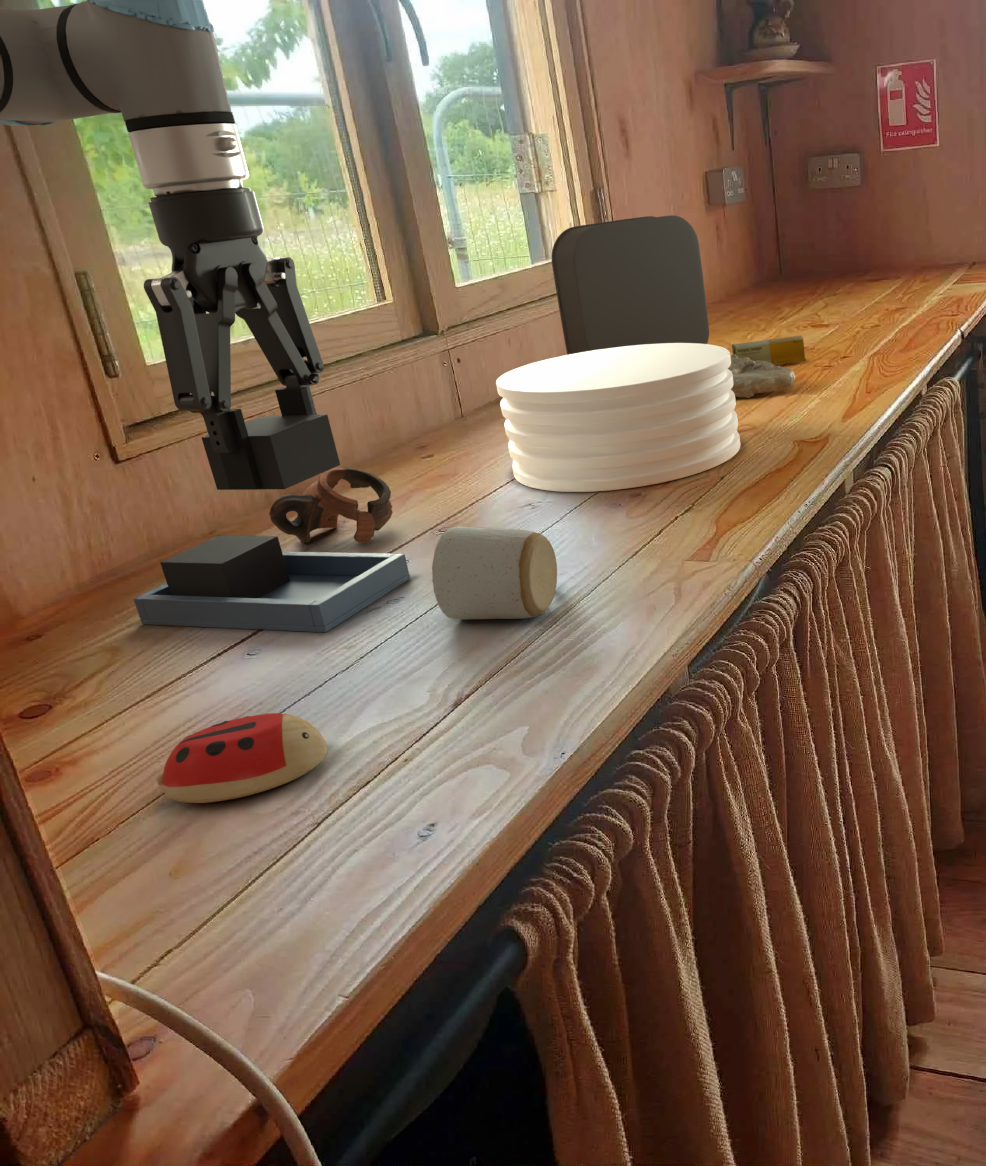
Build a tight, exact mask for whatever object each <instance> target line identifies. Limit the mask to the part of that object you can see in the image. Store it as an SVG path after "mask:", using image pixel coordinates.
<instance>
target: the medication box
mask: <svg viewBox="0 0 986 1166" xmlns="http://www.w3.org/2000/svg"><path fill="white" fill-rule="evenodd" d="M804 343H805V342H804V337H803V336H802V335H794V336H793V335H792V336H786V337H779V338H771V339H764V340H763V339H762V340H756V341H747V342H741V343H732V344H731V353H732V355H734V354H736V355H737V357H738V358H740V359H741V358H744V357H748V358H749V359H750V360H752V361H767V362H768V363H771V364H773V365H775V366H780V365H786V364H794V363H801V362H802V363H803V362H806V361H807V359H806V353H805V344H804Z"/></svg>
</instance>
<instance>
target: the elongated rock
mask: <svg viewBox="0 0 986 1166" xmlns="http://www.w3.org/2000/svg"><path fill="white" fill-rule="evenodd" d="M730 357H731V365H730V367H729V368H728V369H729V370H730V371H731V372H732V375H733V387H732V388H731V390H732V391H733V392H734V394H735V398H741V399H742V398H746V399H750V398H752V397H754V396H755V394H765V393H771V392H775V391H777V390H778V391H779V390H785V389H789V388H791V387H792V386H793V385H794V383H795V382H796V376H795V372H794V370H793V369H791V368H788V367H784V366H783V367H782V366H780V365H773V364H771V363H768V362H767V361H752V360H750V359H749V358H748V357H744V358H741V359H740V358H738V357H737V355H736V354H734V355H733V354H730Z"/></svg>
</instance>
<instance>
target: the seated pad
mask: <svg viewBox="0 0 986 1166" xmlns="http://www.w3.org/2000/svg"><path fill="white" fill-rule="evenodd" d="M282 552H283V551H282V547H281V543H280V539H279V536H277V535H217V536H214V537H212V538H210V539H208V540H206V541H204V542H201V543H199V544H197V545H194V546H193V547H190V548H188V549H186V550H183V551H181V552H180V553H177V554H175V555H172V556H171V557H168V558H167V559H164V560H162V561H160V562H159V563H160V566H161V569H162V573H163V575H164V578H165V581H166V582H165V583H167V585H168V588H169V591H170V594H171V595H173V596H203V597H232V598H260V597H262V596H264V595H266V594H267V593H269V592H271V591H273V590H275V589H276V588H278V587H280V586H282V585H284V584H285V583H287V582H289V581H290V578H289V575H288V571H287V568H286V564H285V560H284V557H283V553H282Z"/></svg>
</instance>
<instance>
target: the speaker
mask: <svg viewBox="0 0 986 1166" xmlns="http://www.w3.org/2000/svg"><path fill="white" fill-rule="evenodd" d="M550 260H551V266H552V273H553V274H552V275H553V279H554V286H555V291H556V298H557V299H556V300H557V304H558V311H559V315H560V321H561V328H562V333H563V340H564V345H565V351H566V355H569V354H575V353H580V352H586V351H593V350H599V349H607V348H614V347H623V346H633V345H645V344H661V343H699V344H709V339H710V326H709V325H710V324H709V315H708V306H707V299H706V290H705V281H704V274H703V265H702V264H703V263H702V257H701V250H700V243H699V239H698V234H697V233H696V231H695V229H694V227H693V226H692V224H691V223H690V222H689V221H688V220H686V219H685V218H684V217H681V216H679V215H672V214H671V215H662V216H653V215H648V216H639V217H631V218H624V219H615V220H610V221H602V222H595V223H588V224H582V225H576V226H571V227H568V228H566V229H565V230H563V231H562V232H561V233H560V234H559V235H558V237H556V239H555V241H554V243H553V246H552V249H551V259H550Z"/></svg>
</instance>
